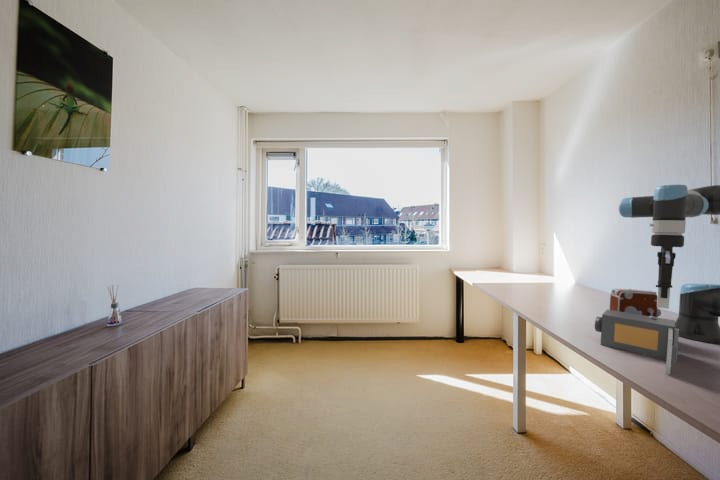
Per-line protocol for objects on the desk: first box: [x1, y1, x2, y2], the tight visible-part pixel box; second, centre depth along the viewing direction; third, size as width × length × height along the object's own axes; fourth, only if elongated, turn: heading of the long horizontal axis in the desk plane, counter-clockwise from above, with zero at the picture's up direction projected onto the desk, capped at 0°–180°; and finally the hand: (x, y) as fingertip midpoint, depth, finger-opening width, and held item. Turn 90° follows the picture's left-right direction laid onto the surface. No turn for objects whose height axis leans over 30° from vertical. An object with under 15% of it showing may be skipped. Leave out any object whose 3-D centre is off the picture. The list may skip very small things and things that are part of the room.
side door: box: [665, 328, 677, 375], centre depth 103 cm, size 2×16×11 cm, turn 135°
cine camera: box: [609, 288, 662, 318], centre depth 134 cm, size 9×19×20 cm, turn 78°
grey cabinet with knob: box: [594, 309, 680, 362], centre depth 120 cm, size 13×24×13 cm, turn 45°
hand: (662, 307), depth 101 cm, fingers closed
